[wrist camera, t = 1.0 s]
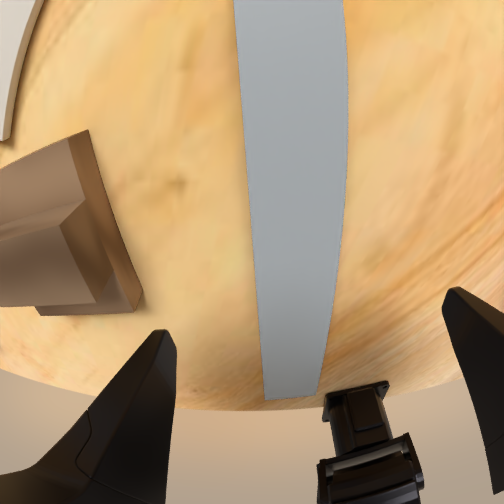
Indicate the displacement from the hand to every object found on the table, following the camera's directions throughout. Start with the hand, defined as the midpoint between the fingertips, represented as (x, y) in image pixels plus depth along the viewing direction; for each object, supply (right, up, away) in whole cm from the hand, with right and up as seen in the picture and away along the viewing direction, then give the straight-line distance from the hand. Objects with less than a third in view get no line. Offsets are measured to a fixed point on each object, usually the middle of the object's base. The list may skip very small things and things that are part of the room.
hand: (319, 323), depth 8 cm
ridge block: (-13, +3, +6) cm, 15 cm away
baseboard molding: (-15, +23, -5) cm, 28 cm away
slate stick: (0, +4, +7) cm, 8 cm away
